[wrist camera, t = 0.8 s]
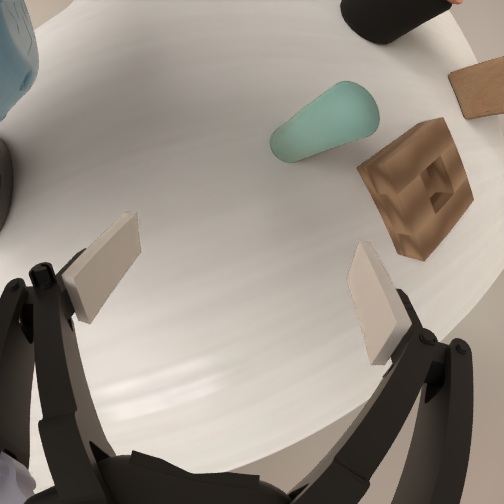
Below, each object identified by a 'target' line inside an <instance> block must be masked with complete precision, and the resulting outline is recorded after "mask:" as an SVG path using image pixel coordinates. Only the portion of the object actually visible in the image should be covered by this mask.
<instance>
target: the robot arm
mask: <svg viewBox="0 0 504 504" xmlns="http://www.w3.org/2000/svg"><path fill="white" fill-rule="evenodd" d="M38 68H39V55H38V48H37V43H36V38H35V34H34V30H33V27H32V23H31V20H30V16H29V13H28V10H27V7H26V5H25V2H24V0H0V122H1V121H2V120H3V119H4V118H5V117H6V115H7V112H8V111H9V110H10V109H11V108H12V107H13V106H14V105H15V104H16V103H17V102H18V101H19V100H20V99H21V98H22V97H23V96H24V95H25V94H26V93H27V92H28V91H29V89H30V88H31V87H32V85H33V84H34V82H35V80H36V77H37V74H38ZM12 186H13V172H12V163H11V158H10V155H9V152H8V150H7V148H6V146H5V144H4V143H3V142H2V141H1V140H0V230H1V228H2V226H3V224H4V222H5V219H6V216H7V213H8V210H9V206H10V201H11V196H12ZM140 253H141V246H140V238H139V229H138V219H137V213H133V212H125V213H124V214H123V215H122V216H121V217H120V218H119V219H118V220H117V221H115V222H114V223H113V224H112V225H111V226H110V227H109V228H108V229H107V230H106V231H105V232H104V233H103V234H101V235H100V236H99V237H98V238H97V239H96V240H95V241H94V242H93V243H92V244H91V245H90V246H89V247H88V248H87V249H86V248H85V249H83V250H81V251H80V252H78V253H77V254H76V255H75V256H74V257H73V258H72V259H71V260H70V261H69V262H68V264H66V265H65V266H64V267H63V268H62V269H61V270H60V271H59V272H58V273H57V274H56V275H55V273H54V270H53V267H52V264H50V263H48V262H43V263H39V264H37V265H35V266H34V267H32V269H31V270H30V271H29V277H30V279H31V282H32V284H33V286H30V287H26V284H25V282H24V280H23V279H22V278H16V279H13V280H11V281H10V282H9V283H8V284H7V285H6V287H5V288H4V291H3V293H2V295H1V298H0V504H358V502H359V501H360V500H361V498H362V497H363V496H364V494H365V493H366V492H367V490H368V488H369V486H370V482H369V480H370V478H371V476H372V474H373V473H374V472H375V470H376V469H377V467H378V466H379V464H380V462H381V461H382V460H383V458H384V457H385V455H386V454H387V452H388V450H389V448H390V447H391V445H392V443H393V442H394V440H395V439H396V437H397V435H398V433H399V431H400V430H401V428H402V426H403V424H404V422H405V420H406V418H407V417H408V414H409V413H410V411H411V408H412V407H413V404H414V402H415V400H416V398H417V396H418V394H419V391H420V389H421V387H422V390H421V397H420V403H419V408H418V413H417V418H416V423H415V428H414V433H413V437H412V441H411V444H410V448H409V452H408V455H407V459H406V462H405V466H404V469H403V472H402V475H401V478H400V481H399V484H398V487H397V489H396V492H395V495H394V497H393V500H392V502H391V504H460V499H461V496H462V492H463V487H464V483H465V478H466V472H467V467H468V461H469V454H470V446H471V437H472V424H473V365H472V352H471V349H470V347H469V345H468V344H467V343H466V342H465V341H464V340H462V339H459V338H455V339H453V340H452V341H451V343H450V344H449V345H447V344H444V343H440V342H438V340H437V337H436V336H435V335H434V333H432V332H431V331H430V330H428V329H426V328H423V327H422V325H421V322H420V320H419V318H418V316H417V314H416V312H415V310H414V308H413V306H412V304H411V302H410V300H409V298H408V296H407V295H406V294H405V293H404V292H403V291H402V290H401V289H395V287H394V285H393V283H392V281H391V279H390V277H389V275H388V273H387V271H386V269H385V267H384V265H383V263H382V261H381V260H380V258H379V256H378V254H377V252H376V251H375V249H374V247H373V245H372V243H371V242H366V241H359V243H358V246H357V249H356V252H355V255H354V258H353V261H352V264H351V267H350V270H349V273H348V276H347V282H348V285H349V288H350V291H351V295H352V298H353V301H354V305H355V308H356V311H357V315H358V318H359V322H360V325H361V329H362V333H363V337H364V340H365V344H366V348H367V352H368V356H369V360H370V364H371V365H385V364H386V363H387V361H388V360H389V358H390V357H391V360H392V363H393V364H392V365H391V366H390V368H389V369H388V370H387V372H386V373H385V374H384V376H383V379H382V381H381V382H380V384H379V386H378V387H377V389H376V390H375V392H374V393H373V395H372V396H371V398H370V399H369V401H368V402H367V404H366V405H365V407H364V408H363V409H362V411H361V412H360V413H359V415H358V416H357V418H356V419H355V420H354V422H353V423H352V424H351V426H350V427H349V428H348V430H347V431H346V432H345V433H344V435H343V436H342V437H341V439H339V441H338V442H337V443H336V444H335V446H334V447H333V448H332V449H331V450H330V451H329V453H328V454H327V455H326V456H325V457H324V458H323V459H322V460H321V462H320V463H319V464H318V465H317V466H316V467H315V468H314V469H313V470H312V471H311V472H310V473H309V474H308V475H307V476H306V477H305V478H304V479H303V480H302V481H301V482H299V483H298V484H297V485H296V486H295V487H294V488H293V489H292V490H291V491H290V492H288V493H287V494H286V493H285V492H283V491H282V490H280V489H279V488H277V487H275V486H273V485H272V484H269V483H267V482H263V481H260V480H259V477H260V476H259V475H247V474H238V473H230V472H222V473H205V474H193V473H189V472H187V471H185V470H183V469H181V468H179V467H176V466H174V465H172V464H170V463H168V462H167V461H165V460H163V459H160V458H156V457H153V456H150V455H146V454H143V453H140V452H137V451H134V450H133V451H132V454H131V455H119V456H116V454H115V452H114V451H113V449H112V447H111V446H110V444H109V443H108V441H107V439H106V437H105V435H104V432H103V430H102V427H101V424H100V422H99V419H98V416H97V413H96V410H95V407H94V404H93V401H92V398H91V395H90V392H89V388H88V385H87V381H86V378H85V374H84V370H83V366H82V362H81V358H80V353H79V349H78V344H77V339H76V334H75V328H74V323H73V320H72V318H71V317H72V315H73V314H74V312H75V313H76V316H77V318H78V320H79V321H82V322H85V323H88V324H91V322H92V321H93V319H94V318H95V316H96V315H97V313H98V312H99V310H100V309H101V307H102V306H103V304H104V303H105V301H106V300H107V298H108V297H109V296H110V294H111V293H112V291H113V290H114V288H115V287H116V286H117V284H118V283H119V281H120V280H121V279H122V277H123V276H124V274H125V273H126V272H127V270H128V269H129V268H130V266H131V265H132V264H133V262H134V261H135V260H136V258H137V257H138V256H139V254H140ZM34 365H35V366H36V375H37V383H38V391H39V397H40V403H41V408H42V414H43V419H42V420H40V421H39V423H38V428H39V433H40V438H41V442H42V446H43V449H44V453H45V456H46V460H47V463H48V466H49V469H50V472H51V475H52V478H53V481H54V484H55V486H53V487H50V488H48V489H46V490H44V491H42V492H40V493H37V494H34V492H33V490H34V489H35V488H36V482H35V480H34V478H33V477H31V475H30V473H29V471H28V469H29V458H30V403H31V390H32V381H33V372H34Z"/></svg>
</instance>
